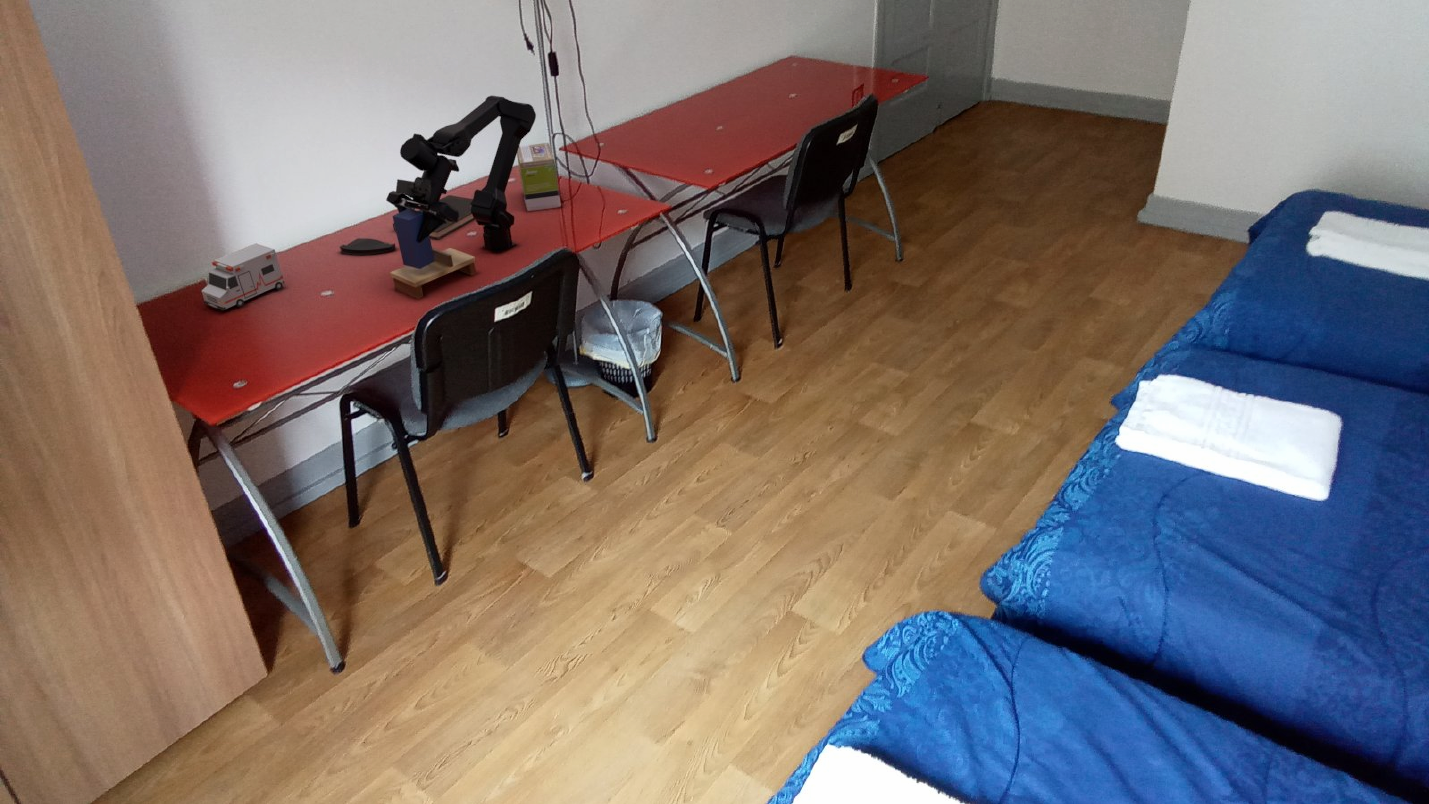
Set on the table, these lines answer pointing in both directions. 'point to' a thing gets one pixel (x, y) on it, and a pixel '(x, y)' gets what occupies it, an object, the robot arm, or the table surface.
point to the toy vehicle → (242, 276)
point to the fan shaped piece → (366, 247)
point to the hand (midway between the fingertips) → (409, 239)
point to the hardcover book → (464, 217)
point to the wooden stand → (432, 271)
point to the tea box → (538, 177)
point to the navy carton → (412, 239)
